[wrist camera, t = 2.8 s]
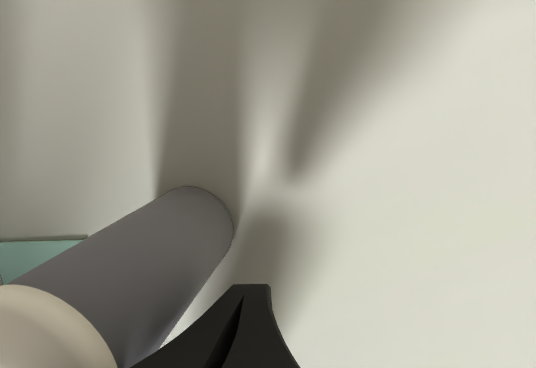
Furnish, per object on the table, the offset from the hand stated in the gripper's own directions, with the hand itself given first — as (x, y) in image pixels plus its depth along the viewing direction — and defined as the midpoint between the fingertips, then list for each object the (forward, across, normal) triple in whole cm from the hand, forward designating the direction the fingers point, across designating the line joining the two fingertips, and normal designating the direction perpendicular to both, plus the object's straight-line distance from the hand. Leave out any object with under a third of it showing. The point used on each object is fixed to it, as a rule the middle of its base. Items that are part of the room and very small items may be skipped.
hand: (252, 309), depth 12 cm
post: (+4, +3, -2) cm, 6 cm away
